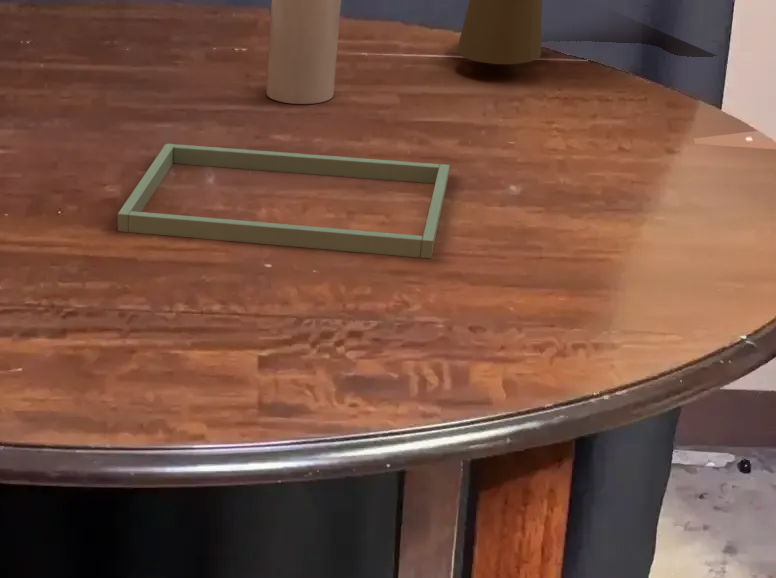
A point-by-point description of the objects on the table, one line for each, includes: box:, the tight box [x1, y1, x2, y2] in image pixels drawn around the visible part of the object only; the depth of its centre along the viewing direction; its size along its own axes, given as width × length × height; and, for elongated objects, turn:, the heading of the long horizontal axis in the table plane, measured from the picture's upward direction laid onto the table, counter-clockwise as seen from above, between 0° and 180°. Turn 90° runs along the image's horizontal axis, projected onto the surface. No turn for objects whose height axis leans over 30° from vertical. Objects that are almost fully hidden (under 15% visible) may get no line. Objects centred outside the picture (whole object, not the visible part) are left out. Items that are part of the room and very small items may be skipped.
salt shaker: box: [265, 0, 342, 105], centre depth 104 cm, size 5×5×11 cm
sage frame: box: [117, 143, 451, 259], centre depth 87 cm, size 17×12×2 cm
